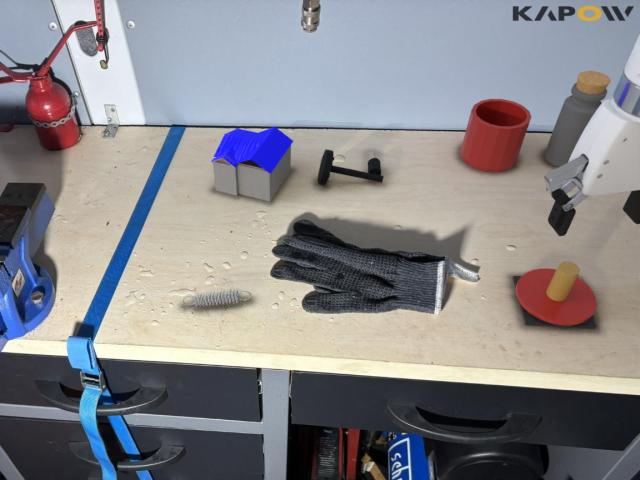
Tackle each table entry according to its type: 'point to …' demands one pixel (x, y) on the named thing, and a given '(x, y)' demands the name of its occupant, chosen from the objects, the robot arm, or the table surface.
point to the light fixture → (327, 167)
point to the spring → (217, 298)
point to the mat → (533, 320)
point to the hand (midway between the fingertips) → (593, 222)
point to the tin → (495, 134)
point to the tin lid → (556, 295)
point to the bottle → (576, 115)
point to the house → (252, 162)
